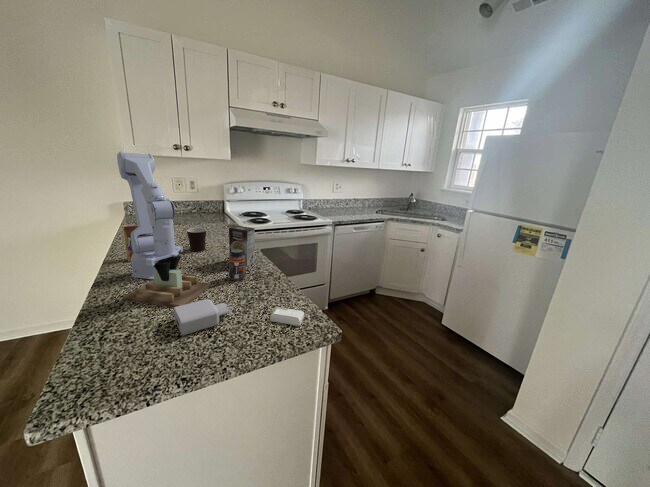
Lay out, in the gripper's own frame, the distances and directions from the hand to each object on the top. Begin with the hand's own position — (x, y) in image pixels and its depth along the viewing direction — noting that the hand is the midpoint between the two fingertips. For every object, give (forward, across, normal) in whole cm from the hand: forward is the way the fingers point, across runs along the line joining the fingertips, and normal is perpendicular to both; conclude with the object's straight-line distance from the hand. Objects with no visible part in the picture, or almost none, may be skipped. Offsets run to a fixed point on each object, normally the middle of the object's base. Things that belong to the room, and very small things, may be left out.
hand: (168, 278), depth 89 cm
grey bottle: (+6, -12, -20) cm, 24 cm away
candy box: (+5, +24, +31) cm, 40 cm away
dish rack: (+5, 0, 0) cm, 5 cm away
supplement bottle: (+5, +17, -16) cm, 24 cm away
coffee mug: (+5, +44, +16) cm, 47 cm away
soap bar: (+6, -6, -42) cm, 43 cm away
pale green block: (+4, 0, 0) cm, 4 cm away
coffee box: (+5, +33, -11) cm, 35 cm away
